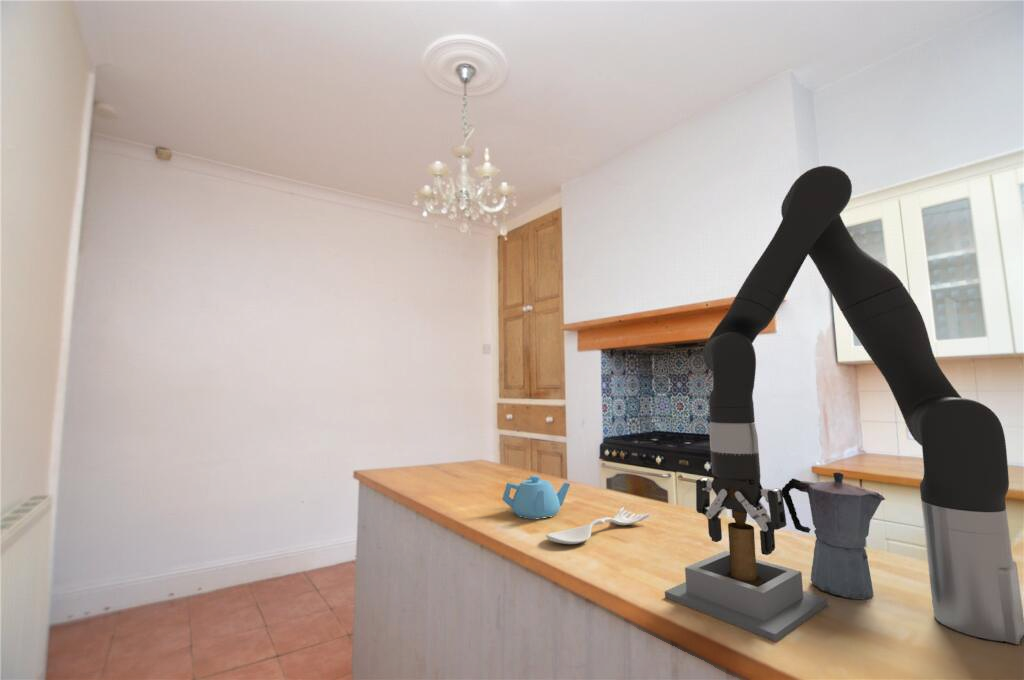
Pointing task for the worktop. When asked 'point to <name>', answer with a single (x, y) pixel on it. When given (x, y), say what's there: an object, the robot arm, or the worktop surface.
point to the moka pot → (838, 534)
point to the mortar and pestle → (742, 548)
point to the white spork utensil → (584, 531)
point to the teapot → (535, 498)
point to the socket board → (748, 596)
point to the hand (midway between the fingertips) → (740, 547)
